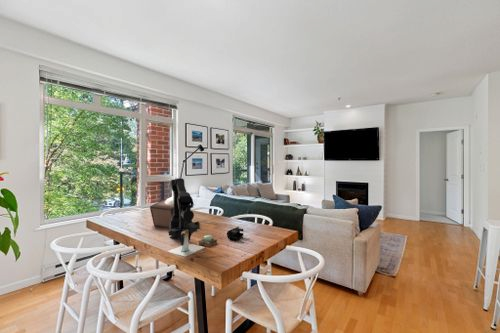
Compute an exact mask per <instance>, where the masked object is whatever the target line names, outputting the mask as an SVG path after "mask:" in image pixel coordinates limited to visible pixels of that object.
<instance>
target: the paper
mask: <svg viewBox="0 0 500 333" xmlns="http://www.w3.org/2000/svg"><path fill="white" fill-rule="evenodd" d="M205 248H206V246H202V245H199V244H193V243H190V242H189V243H188V249H187V250H182V245H180V246H177V247H174V248H173V249H169V250H167V251H166V253H170V254H173V255H176V256H180V257H184V258H186V257H187V256H191V255H192V254H195V253H197V252H199V251H201V250H203V249H205Z"/></svg>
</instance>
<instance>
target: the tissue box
mask: <svg viewBox="0 0 500 333" xmlns="http://www.w3.org/2000/svg"><path fill="white" fill-rule="evenodd" d="M190 205H191V204H190ZM149 210H150V215H151V218H152V223H153V226H154V227H157V228H158V227H159V228H165V229H170V228H169V224H170V221H171V217H172V215H173V213H174V195H172V196H171V197H168V198H166V199H163V200H160V201H158V202H156V203H153V204H151V205H150V206H149Z"/></svg>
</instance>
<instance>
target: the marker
mask: <svg viewBox="0 0 500 333" xmlns="http://www.w3.org/2000/svg"><path fill="white" fill-rule="evenodd" d="M184 234H185V236H184V244H183V246H182V245H181V246H182V250H187V249H188V235H189V232H187V231H184Z"/></svg>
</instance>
